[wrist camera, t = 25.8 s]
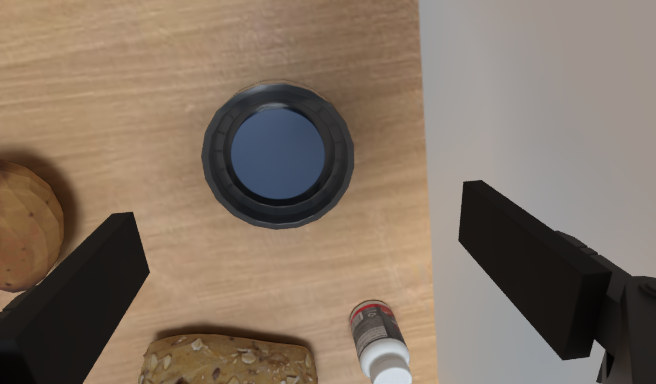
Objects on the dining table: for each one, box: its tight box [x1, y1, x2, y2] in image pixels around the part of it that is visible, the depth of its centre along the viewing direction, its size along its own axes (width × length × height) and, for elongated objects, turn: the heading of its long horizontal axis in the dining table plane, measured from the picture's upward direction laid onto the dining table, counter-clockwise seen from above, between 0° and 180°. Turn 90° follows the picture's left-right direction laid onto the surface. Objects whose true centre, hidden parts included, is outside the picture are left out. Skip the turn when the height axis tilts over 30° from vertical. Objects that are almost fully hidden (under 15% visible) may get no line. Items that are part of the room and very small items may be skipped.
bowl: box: [201, 80, 354, 230], centre depth 35 cm, size 13×13×4 cm
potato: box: [0, 159, 64, 293], centre depth 33 cm, size 8×13×8 cm
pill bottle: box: [350, 301, 412, 384], centre depth 41 cm, size 5×5×10 cm
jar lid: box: [231, 106, 325, 199], centre depth 35 cm, size 9×9×2 cm
